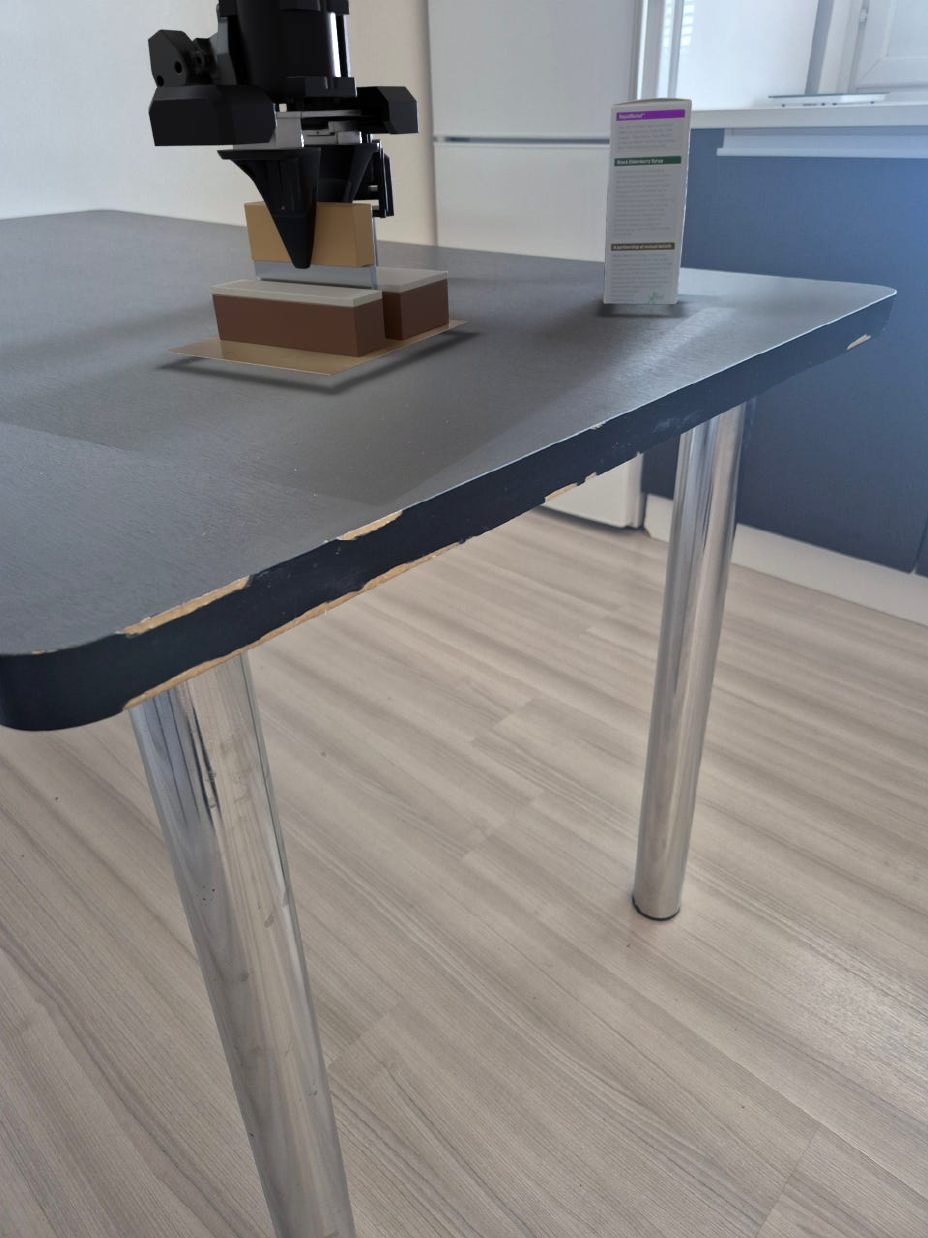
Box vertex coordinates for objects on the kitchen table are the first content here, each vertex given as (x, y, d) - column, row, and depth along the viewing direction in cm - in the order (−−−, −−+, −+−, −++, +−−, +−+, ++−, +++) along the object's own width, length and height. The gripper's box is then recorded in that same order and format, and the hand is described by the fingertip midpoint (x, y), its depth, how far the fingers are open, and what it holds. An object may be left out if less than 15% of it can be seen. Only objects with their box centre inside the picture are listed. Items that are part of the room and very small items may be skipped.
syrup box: (676, 316, 65) (698, 96, 58) (599, 316, 66) (610, 99, 59) (676, 302, 70) (695, 96, 62) (604, 301, 71) (614, 99, 64)
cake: (320, 309, 66) (314, 262, 65) (449, 322, 61) (447, 270, 59) (268, 325, 62) (261, 274, 60) (403, 340, 57) (399, 285, 55)
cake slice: (249, 330, 61) (241, 278, 59) (385, 346, 55) (381, 290, 53) (219, 339, 58) (210, 285, 57) (358, 357, 53) (353, 298, 51)
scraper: (256, 328, 60) (237, 203, 56) (275, 322, 61) (258, 200, 57) (370, 341, 55) (359, 206, 51) (387, 335, 57) (378, 203, 53)
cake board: (319, 319, 68) (318, 306, 68) (469, 335, 62) (468, 320, 61) (168, 366, 56) (164, 351, 56) (333, 391, 50) (331, 374, 50)
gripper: (282, -2, 58) (310, 242, 67) (48, -31, 45) (119, 281, 53) (416, -18, 53) (428, 248, 62) (199, -55, 40) (251, 293, 48)
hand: (313, 265), depth 56 cm, fingers closed on scraper, 2 cm apart
